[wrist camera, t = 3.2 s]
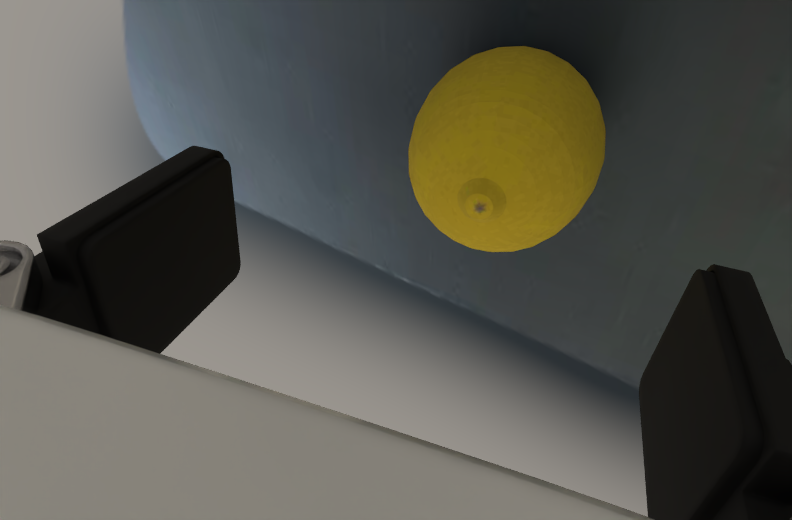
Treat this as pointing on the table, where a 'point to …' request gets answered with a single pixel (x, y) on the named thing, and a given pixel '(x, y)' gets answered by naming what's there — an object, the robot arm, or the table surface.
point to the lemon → (507, 149)
